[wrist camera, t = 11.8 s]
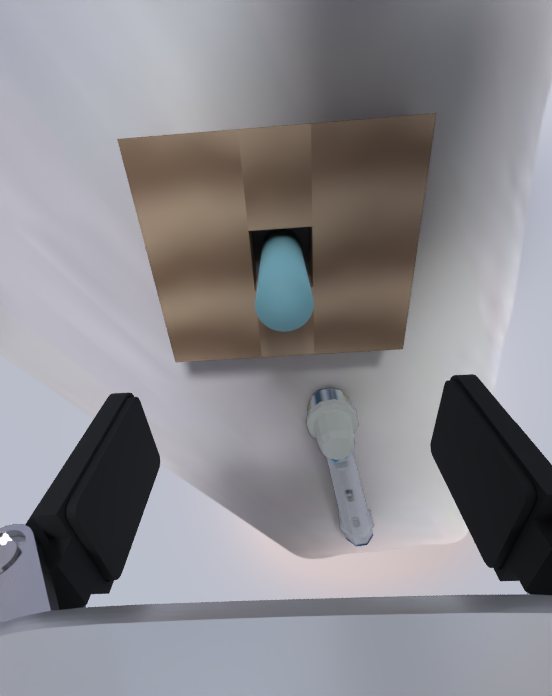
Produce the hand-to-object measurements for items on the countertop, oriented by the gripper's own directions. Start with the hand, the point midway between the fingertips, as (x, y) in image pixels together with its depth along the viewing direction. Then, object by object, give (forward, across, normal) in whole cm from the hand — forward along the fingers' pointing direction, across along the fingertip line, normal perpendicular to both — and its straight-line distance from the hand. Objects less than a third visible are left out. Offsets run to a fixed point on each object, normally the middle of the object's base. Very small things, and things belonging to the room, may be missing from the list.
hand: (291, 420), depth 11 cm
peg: (+21, 0, 0) cm, 21 cm away
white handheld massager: (+22, -6, +28) cm, 36 cm away
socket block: (+22, 0, 0) cm, 22 cm away
